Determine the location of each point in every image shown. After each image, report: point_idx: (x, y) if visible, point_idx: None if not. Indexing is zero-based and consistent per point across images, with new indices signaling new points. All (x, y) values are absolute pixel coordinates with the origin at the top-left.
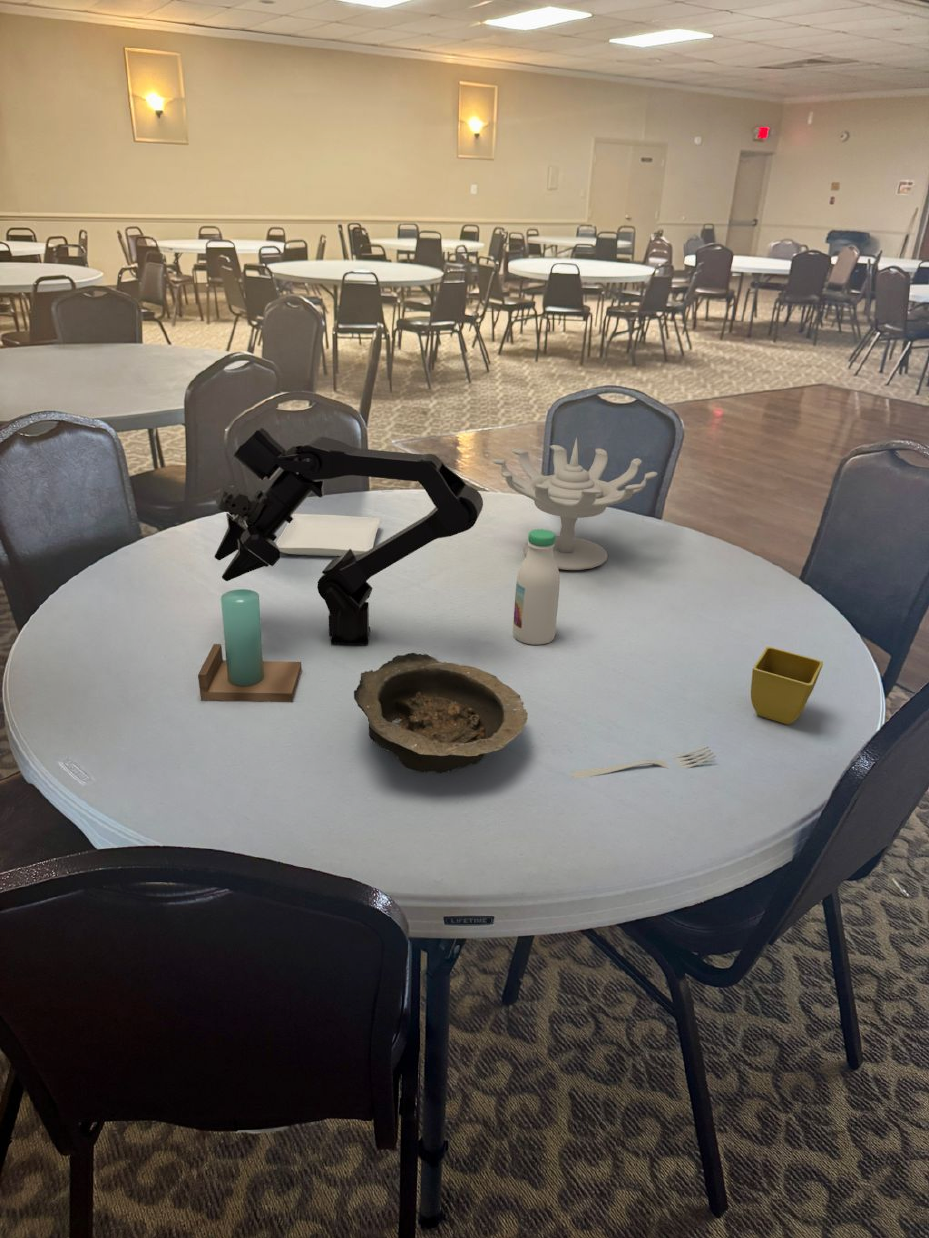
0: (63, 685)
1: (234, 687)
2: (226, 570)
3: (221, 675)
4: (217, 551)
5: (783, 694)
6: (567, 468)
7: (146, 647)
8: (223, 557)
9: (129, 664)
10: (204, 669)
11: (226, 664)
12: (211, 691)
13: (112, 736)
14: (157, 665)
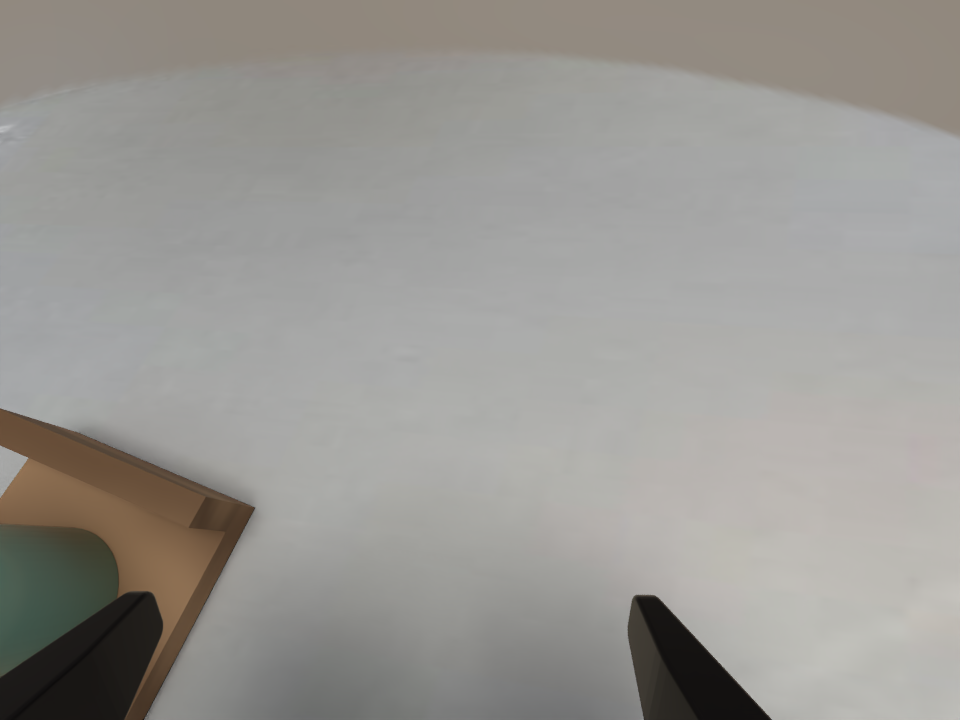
0: (346, 129)
1: None
2: (50, 652)
3: (117, 509)
4: (661, 637)
5: None
6: None
7: (490, 312)
8: (637, 684)
9: (396, 264)
10: (19, 434)
11: (19, 524)
12: (31, 460)
13: (41, 215)
14: (358, 333)
